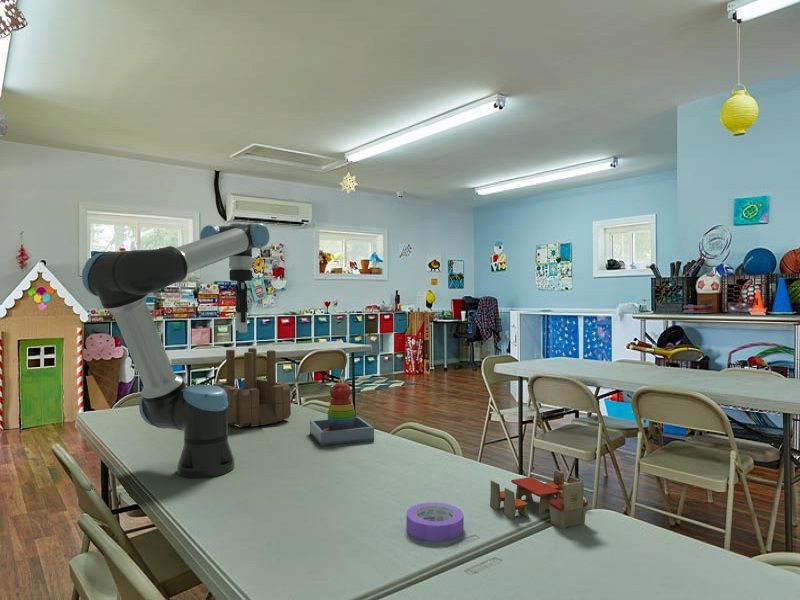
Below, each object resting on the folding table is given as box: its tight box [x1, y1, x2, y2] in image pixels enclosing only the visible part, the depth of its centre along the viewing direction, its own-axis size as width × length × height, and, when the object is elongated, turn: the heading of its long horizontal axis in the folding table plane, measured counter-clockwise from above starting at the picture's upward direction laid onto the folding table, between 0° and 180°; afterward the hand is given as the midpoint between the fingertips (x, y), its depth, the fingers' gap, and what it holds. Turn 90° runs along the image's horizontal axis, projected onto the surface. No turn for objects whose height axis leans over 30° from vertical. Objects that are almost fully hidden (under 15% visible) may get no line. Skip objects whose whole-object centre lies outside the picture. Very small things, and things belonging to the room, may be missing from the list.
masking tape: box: [405, 502, 465, 542], centre depth 110 cm, size 12×12×4 cm
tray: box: [309, 416, 375, 447], centre depth 185 cm, size 18×18×4 cm
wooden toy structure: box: [212, 347, 292, 428], centre depth 217 cm, size 23×30×27 cm
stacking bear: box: [323, 381, 356, 432], centre depth 185 cm, size 11×10×18 cm
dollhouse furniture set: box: [489, 469, 589, 530], centre depth 118 cm, size 19×19×10 cm
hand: (241, 331), depth 184 cm, fingers open, 13 cm apart
